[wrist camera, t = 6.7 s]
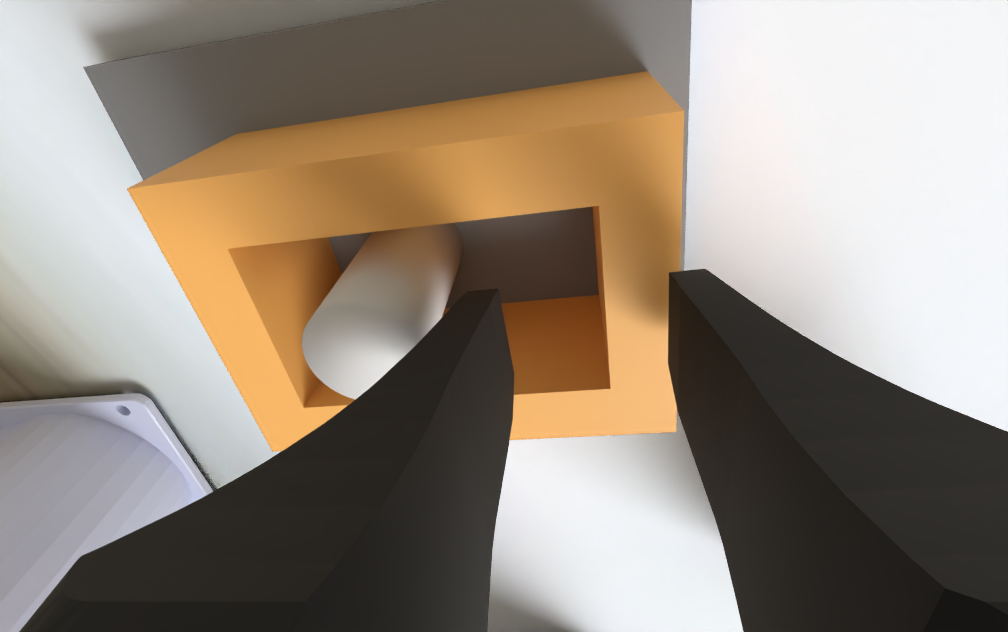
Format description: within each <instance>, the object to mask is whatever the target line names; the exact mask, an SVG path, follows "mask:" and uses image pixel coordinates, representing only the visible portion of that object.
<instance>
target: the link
mask: <svg viewBox="0 0 1008 632" xmlns="http://www.w3.org/2000/svg"><path fill="white" fill-rule="evenodd" d="M683 137H684V110H683V109H682V108H681V107H680V106H679V105H678V104H677V102H676V101H675V100H674V99H673V98H672V97H671V96H670V95H669V94H668V93H667V92H666V90H665V89H664V88H663V87H662V86H661V85H660V84H659V83H658V82H657V81H656V80H655V78H654V77H653V76H652V75H651V74H650V73H649V72H648V71H645V72H638V73H632V74H625V75H619V76H612V77H606V78H599V79H593V80H586V81H580V82H573V83H566V84H560V85H553V86H547V87H540V88H534V89H527V90H521V91H514V92H508V93H501V94H495V95H488V96H481V97H475V98H468V99H462V100H455V101H449V102H442V103H436V104H429V105H423V106H416V107H409V108H403V109H396V110H390V111H383V112H377V113H370V114H364V115H357V116H351V117H344V118H338V119H331V120H324V121H318V122H311V123H305V124H298V125H292V126H285V127H279V128H272V129H266V130H259V131H252V132H246V133H239V134H235V135H233V136H231V137H229V138H227V139H225V140H223V141H221V142H219V143H217V144H215V145H213V146H211V147H209V148H207V149H205V150H203V151H201V152H199V153H197V154H195V155H193V156H191V157H189V158H187V159H185V160H183V161H182V162H180V163H178V164H176V165H174V166H172V167H170V168H168V169H166V170H164V171H162V172H160V173H158V174H156V175H154V176H152V177H150V178H148V179H146V180H144V181H142V182H140V183H138V184H136V185H134V186H132V187H130V188H128V189H127V190H128V192H129V193H130V195H131V197H132V199H133V201H134V202H135V204H136V206H137V208H138V210H139V211H140V213H141V215H142V217H143V219H144V220H145V222H146V224H147V226H148V228H149V229H150V231H151V233H152V235H153V237H154V238H155V240H156V242H157V244H158V246H159V247H160V249H161V251H162V253H163V255H164V256H165V258H166V260H167V262H168V264H169V265H170V267H171V269H172V271H173V273H174V275H175V276H176V278H177V280H178V282H179V284H180V285H181V287H182V289H183V291H184V293H185V294H186V296H187V298H188V300H189V302H190V303H191V305H192V307H193V309H194V311H195V312H196V314H197V316H198V318H199V320H200V321H201V323H202V325H203V327H204V329H205V330H206V332H207V334H208V336H209V338H210V339H211V341H212V343H213V345H214V347H215V348H216V350H217V352H218V354H219V356H220V357H221V359H222V361H223V363H224V365H225V366H226V368H227V370H228V372H229V374H230V376H231V377H232V379H233V381H234V383H235V385H236V386H237V388H238V390H239V392H240V394H241V395H242V397H243V399H244V401H245V403H246V404H247V406H248V408H249V410H250V412H251V413H252V415H253V417H254V419H255V421H256V422H257V424H258V426H259V428H260V430H261V431H262V433H263V435H264V437H265V439H266V440H267V442H268V444H269V446H270V448H271V449H272V451H283V450H285V449H286V448H288V447H289V446H291V445H292V444H294V443H295V442H297V441H298V440H300V439H301V438H303V437H304V436H306V435H307V434H309V433H310V432H312V431H313V430H315V429H316V428H318V427H319V426H321V425H322V424H324V423H325V422H327V421H328V420H329V419H331V418H332V417H333V416H335V415H336V414H337V413H339V412H340V411H341V410H343V409H344V408H345V407H346V406H348V405H349V404H350V403H352V402H353V401H354V400H355V399H352V398H349V397H346V396H344V395H342V394H340V393H338V392H336V391H334V390H332V389H331V388H329V387H328V386H327V385H325V384H324V383H323V382H322V381H321V380H320V379H319V378H318V377H317V376H316V375H315V374H314V373H313V371H312V370H311V369H310V367H309V365H308V364H307V362H306V359H305V357H304V354H303V349H302V335H303V332H304V329H305V327H306V325H307V323H308V322H309V320H310V319H311V317H312V316H313V315H314V313H315V312H316V310H317V309H318V308H319V306H320V305H321V303H322V302H323V301H324V299H325V298H326V296H327V295H328V294H329V292H330V291H331V289H332V288H333V287H334V285H335V284H336V282H337V281H338V280H339V278H340V277H341V275H342V273H341V271H340V268H339V265H338V262H337V260H336V257H335V254H334V251H333V249H332V246H331V243H330V240H329V238H328V237H334V236H342V235H351V234H360V233H368V232H377V231H386V230H394V229H403V228H412V227H420V226H429V225H438V224H446V223H455V222H463V221H472V220H481V219H489V218H498V217H507V216H515V215H524V214H533V213H541V212H550V211H559V210H567V209H576V208H585V207H593V221H594V235H595V249H596V263H597V278H598V292H599V295H590V296H579V297H568V298H557V299H546V300H535V301H523V302H512V303H501V305H502V310H503V316H504V321H505V326H506V332H507V337H508V342H509V348H510V353H511V358H512V364H513V369H514V403H513V421H512V427H511V434H510V440H521V439H541V438H562V437H583V436H603V435H624V434H645V433H665V432H676V423H677V405H676V401H675V396H674V391H673V386H672V381H671V376H670V371H669V366H668V313H669V272H678V271H680V260H681V219H682V178H683ZM449 309H450V308H445V309H444V312H443V315H442V317H443V316H444V315H445V314H446V313H447V312H448V311H449Z"/></svg>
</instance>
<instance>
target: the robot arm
mask: <svg viewBox="0 0 1008 632" xmlns="http://www.w3.org/2000/svg"><path fill="white" fill-rule="evenodd" d="M668 366H669V371H670V376H671V381H672V386H673V391H674V396H675V401H676V405H677V410H678V413H679V416H680V419H681V422H682V425H683V428H684V431H685V433H686V436H687V439H688V442H689V445H690V448H691V451H692V454H693V456H694V459H695V462H696V465H697V468H698V471H699V474H700V476H701V479H702V482H703V485H704V488H705V491H706V494H707V496H708V499H709V502H710V505H711V508H712V511H713V514H714V516H715V519H716V523H717V526H718V529H719V533H720V536H721V539H722V543H723V546H724V550H725V555H726V559H727V563H728V567H729V571H730V575H731V580H732V584H733V588H734V592H735V596H736V600H737V605H738V609H739V613H740V618H741V622H742V627H743V631H744V632H1008V432H1007V431H1004V430H1002V429H999V428H996V427H994V426H991V425H989V424H986V423H984V422H981V421H979V420H976V419H974V418H971V417H969V416H966V415H964V414H962V413H959V412H957V411H954V410H952V409H949V408H947V407H944V406H942V405H939V404H937V403H935V402H932V401H930V400H928V399H925V398H923V397H921V396H919V395H916V394H914V393H912V392H909V391H907V390H905V389H903V388H901V387H899V386H897V385H895V384H893V383H891V382H889V381H887V380H884V379H882V378H880V377H878V376H876V375H874V374H872V373H870V372H868V371H866V370H864V369H862V368H860V367H858V366H856V365H854V364H852V363H850V362H848V361H847V360H845V359H843V358H841V357H839V356H837V355H835V354H834V353H832V352H830V351H829V350H827V349H825V348H823V347H822V346H820V345H818V344H817V343H815V342H813V341H811V340H810V339H808V338H806V337H805V336H803V335H801V334H800V333H798V332H796V331H795V330H793V329H792V328H790V327H788V326H787V325H785V324H784V323H782V322H781V321H779V320H778V319H776V318H775V317H773V316H772V315H770V314H769V313H767V312H766V311H764V310H763V309H761V308H760V307H758V306H757V305H755V304H754V303H753V302H751V301H750V300H748V299H747V298H745V297H744V296H743V295H741V294H740V293H738V292H737V291H736V290H734V289H733V288H731V287H730V286H729V285H727V284H726V283H725V282H723V281H722V280H720V279H719V278H718V277H716V276H715V275H713V274H712V273H710V272H709V271H707V270H706V269H699V270H689V271H678V272H669V313H668ZM513 403H514V369H513V364H512V358H511V353H510V348H509V342H508V337H507V332H506V326H505V321H504V316H503V310H502V305H501V299H500V294H499V289H487V290H476V291H467V292H466V293H465V294H464V295H463V296H462V297H461V298H460V299H459V300H458V301H457V302H456V303H455V304H454V305H453V306H452V307H451V308H450V309H449V311H448V312H447V313H446V314H445V315H444V316H443V317H442V318H441V319H440V320H439V321H438V323H437V324H436V325H435V326H434V327H433V328H432V329H431V330H430V331H429V332H428V333H427V334H426V335H425V336H424V337H423V338H422V339H421V340H420V341H419V342H418V343H417V344H416V345H415V346H414V347H413V348H412V349H411V350H410V351H409V352H408V353H407V354H406V355H405V356H404V357H403V358H402V359H401V360H400V361H399V362H398V363H396V364H395V365H394V366H393V367H392V368H391V369H390V370H389V371H388V372H387V373H386V374H385V375H384V376H383V377H382V378H380V379H379V380H378V381H377V382H376V383H375V384H374V385H373V386H371V387H370V388H369V389H368V390H367V391H365V392H364V393H363V394H362V395H361V396H359V397H358V398H357V399H356V400H354V401H353V402H352V403H350V404H349V405H348V406H346V407H345V408H344V409H343V410H341V411H340V412H339V413H337V414H336V415H335V416H333V417H332V418H331V419H329V420H328V421H327V422H325V423H324V424H322V425H321V426H319V427H318V428H316V429H315V430H313V431H312V432H310V433H309V434H307V435H306V436H304V437H303V438H301V439H300V440H298V441H297V442H295V443H294V444H292V445H291V446H289V447H288V448H286V449H285V450H283V451H282V452H280V453H279V454H277V455H276V456H274V457H272V458H271V459H269V460H268V461H266V462H264V463H263V464H261V465H259V466H258V467H256V468H254V469H252V470H251V471H249V472H247V473H246V474H244V475H242V476H240V477H239V478H237V479H235V480H234V481H232V482H230V483H228V484H226V485H224V486H223V487H221V488H219V489H217V490H215V491H213V490H212V488H211V487H210V485H209V484H208V483H207V481H206V480H205V478H204V477H203V475H202V474H201V472H200V471H199V469H198V468H197V466H196V465H195V463H194V462H193V460H192V459H191V457H190V456H189V455H188V453H187V452H186V450H185V449H184V447H183V446H182V444H181V443H180V441H179V440H178V438H177V437H176V435H175V434H174V432H173V431H172V429H171V428H170V427H169V425H168V424H167V422H166V421H165V419H164V418H163V416H162V415H161V413H160V412H159V410H158V409H157V407H156V406H155V404H154V403H153V402H152V400H151V399H150V398H148V397H147V396H145V395H142V394H137V393H131V394H116V395H102V396H88V397H74V398H60V399H45V400H31V401H17V402H3V403H0V632H487V625H488V607H489V591H490V576H491V561H492V547H493V539H494V531H495V523H496V517H497V511H498V505H499V499H500V493H501V487H502V481H503V476H504V470H505V464H506V458H507V452H508V446H509V440H510V434H511V427H512V421H513Z"/></svg>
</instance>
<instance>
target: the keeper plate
mask: <svg viewBox="0 0 1008 632" xmlns="http://www.w3.org/2000/svg"><path fill="white" fill-rule="evenodd" d="M691 5H692V0H443V1H437V2H432V3H427V4H421V5H416V6H410V7H405V8H399V9H394V10H389V11H383V12H378V13H372V14H367V15H361V16H356V17H351V18H345V19H340V20H334V21H329V22H323V23H318V24H313V25H307V26H302V27H296V28H291V29H285V30H280V31H275V32H269V33H264V34H258V35H253V36H247V37H242V38H237V39H231V40H226V41H220V42H215V43H209V44H204V45H198V46H193V47H188V48H182V49H177V50H171V51H166V52H160V53H155V54H150V55H144V56H139V57H133V58H128V59H122V60H117V61H112V62H107V63H102V64H97V65H92V66H87V67H84V69H85V71H86V73H87V75H88V77H89V79H90V81H91V83H92V84H93V86H94V88H95V90H96V92H97V94H98V96H99V98H100V99H101V101H102V103H103V105H104V107H105V109H106V111H107V113H108V114H109V116H110V118H111V120H112V122H113V124H114V126H115V128H116V129H117V131H118V133H119V135H120V137H121V139H122V141H123V143H124V144H125V146H126V148H127V150H128V152H129V154H130V156H131V158H132V160H133V161H134V163H135V165H136V167H137V169H138V171H139V173H140V175H141V176H142V178H143V180H146V179H148V178H150V177H152V176H154V175H156V174H158V173H160V172H162V171H164V170H166V169H168V168H170V167H172V166H174V165H176V164H178V163H180V162H182V161H183V160H185V159H187V158H189V157H191V156H193V155H195V154H197V153H199V152H201V151H203V150H205V149H207V148H209V147H211V146H213V145H215V144H217V143H219V142H221V141H223V140H225V139H227V138H229V137H231V136H233V135H235V134H239V133H246V132H252V131H259V130H266V129H272V128H279V127H285V126H292V125H298V124H305V123H311V122H318V121H324V120H331V119H338V118H344V117H351V116H357V115H364V114H370V113H377V112H383V111H390V110H396V109H403V108H409V107H416V106H423V105H429V104H436V103H442V102H449V101H455V100H462V99H468V98H475V97H481V96H488V95H495V94H501V93H508V92H514V91H521V90H527V89H534V88H540V87H547V86H553V85H560V84H566V83H573V82H580V81H586V80H593V79H599V78H606V77H612V76H619V75H625V74H632V73H638V72H645V71H648V72H649V73H650V74H651V75H652V76H653V77H654V78H655V80H656V81H657V82H658V83H659V84H660V85H661V86H662V87H663V88H664V89H665V90H666V92H667V93H668V94H669V95H670V96H671V97H672V98H673V99H674V100H675V101H676V102H677V104H678V105H679V106H680V107H681V108H682V109H683V110H684V137H683V178H682V219H681V260H680V271H684V250H685V215H686V180H687V145H688V110H689V75H690V40H691ZM328 238H329V240H330V243H331V246H332V249H333V251H334V254H335V257H336V260H337V262H338V265H339V268H340V271H341V273H342V275H341V277H340V278H339V280H338V281H337V282H336V284H335V285H334V287H333V288H332V289H331V291H330V292H329V294H328V295H327V296H326V298H325V299H324V301H323V302H322V303H321V305H320V306H319V308H318V309H317V310H316V312H315V313H314V315H313V316H312V317H311V319H310V320H309V322H308V323H307V325H306V327H305V329H304V332H303V335H302V349H303V354H304V357H305V359H306V362H307V364H308V365H309V367H310V369H311V370H312V371H313V373H314V374H315V375H316V376H317V377H318V378H319V379H320V380H321V381H322V382H323V383H324V384H325V385H327V386H328V387H329V388H331V389H332V390H334V391H336V392H338V393H340V394H342V395H344V396H346V397H349V398H352V399H355V400H356V399H357V398H358V397H359V396H361V395H362V394H363V393H364V392H365V391H367V390H368V389H369V388H370V387H371V386H373V385H374V384H375V383H376V382H377V381H378V380H379V379H380V378H382V377H383V376H384V375H385V374H386V373H387V372H388V371H389V370H390V369H391V368H392V367H393V366H394V365H395V364H396V363H398V362H399V361H400V360H401V359H402V358H403V357H404V356H405V355H406V354H407V353H408V352H409V351H410V350H411V349H412V348H413V347H414V346H415V345H416V344H417V343H418V342H419V341H420V340H421V339H422V338H423V337H424V336H425V335H426V334H427V333H428V332H429V331H430V330H431V329H432V328H433V327H434V326H435V325H436V324H437V323H438V321H439V320H440V319H441V318H442V315H443V312H444V309H445V308H451V307H452V306H453V305H454V304H455V303H456V302H457V301H458V300H459V299H460V298H461V297H462V296H463V295H464V294H465V293H466V292H467V291H476V290H487V289H499V294H500V299H501V303H512V302H523V301H535V300H546V299H557V298H568V297H579V296H590V295H599V292H598V278H597V263H596V249H595V235H594V221H593V207H585V208H576V209H567V210H559V211H550V212H541V213H533V214H524V215H515V216H507V217H498V218H489V219H481V220H472V221H463V222H455V223H446V224H438V225H429V226H420V227H412V228H403V229H394V230H386V231H377V232H368V233H360V234H351V235H342V236H334V237H328Z"/></svg>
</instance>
